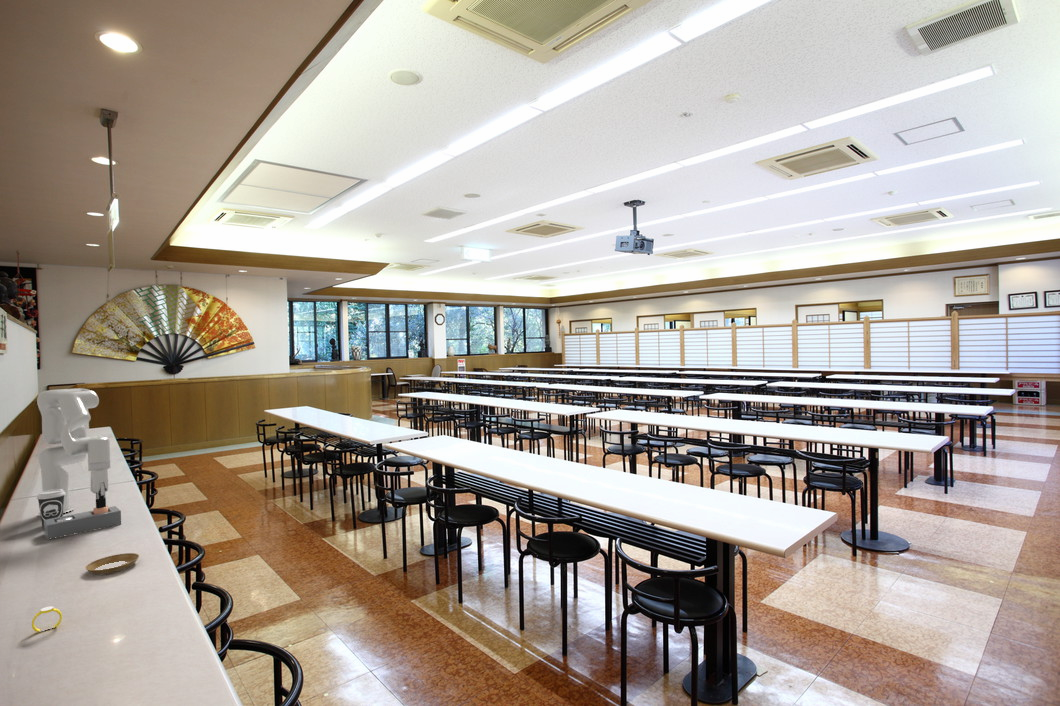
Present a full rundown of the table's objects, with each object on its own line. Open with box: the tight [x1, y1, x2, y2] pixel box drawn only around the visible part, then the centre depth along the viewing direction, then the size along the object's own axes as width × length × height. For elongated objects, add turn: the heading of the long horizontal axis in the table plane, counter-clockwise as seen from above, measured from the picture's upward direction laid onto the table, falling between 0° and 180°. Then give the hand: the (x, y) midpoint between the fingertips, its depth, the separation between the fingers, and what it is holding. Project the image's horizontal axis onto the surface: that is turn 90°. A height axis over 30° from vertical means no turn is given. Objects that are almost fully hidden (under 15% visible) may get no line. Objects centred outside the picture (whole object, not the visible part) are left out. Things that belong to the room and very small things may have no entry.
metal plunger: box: [57, 517, 73, 522], centre depth 221 cm, size 5×5×6 cm
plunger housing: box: [43, 505, 122, 540], centre depth 226 cm, size 11×24×6 cm, turn 139°
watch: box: [31, 605, 63, 633], centre depth 143 cm, size 6×3×6 cm, turn 130°
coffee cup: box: [36, 489, 66, 528], centre depth 232 cm, size 10×10×15 cm
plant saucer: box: [84, 552, 140, 576], centre depth 184 cm, size 15×15×3 cm
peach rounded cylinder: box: [92, 505, 109, 515], centre depth 230 cm, size 5×5×6 cm
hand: (101, 507), depth 230 cm, fingers closed
